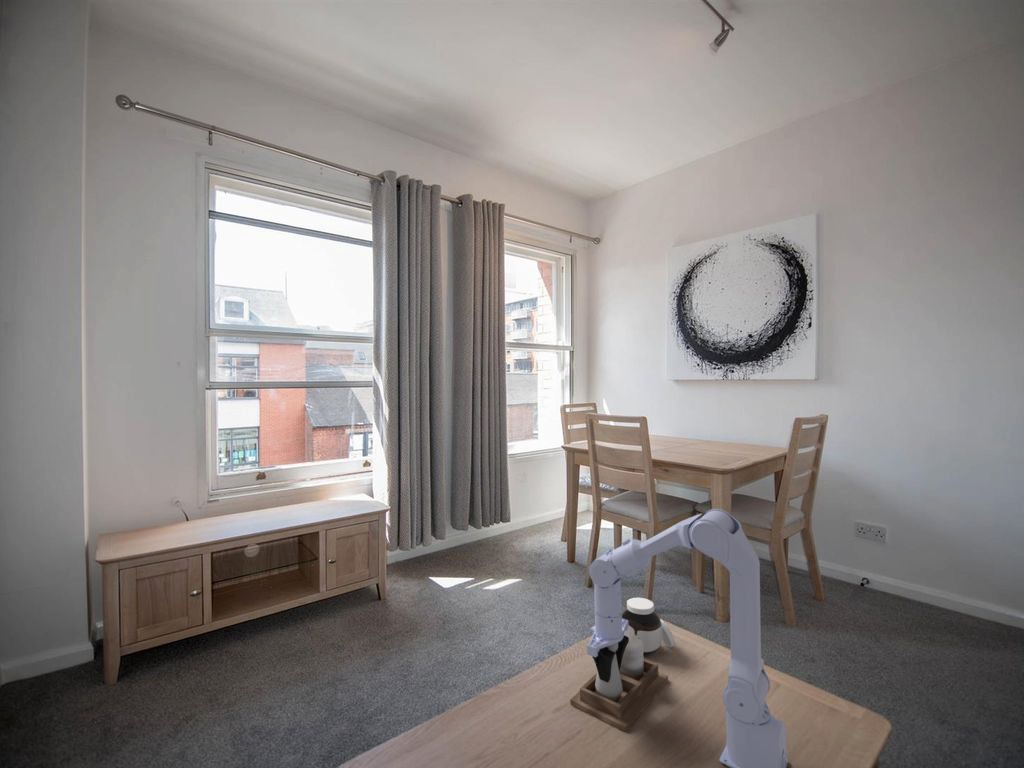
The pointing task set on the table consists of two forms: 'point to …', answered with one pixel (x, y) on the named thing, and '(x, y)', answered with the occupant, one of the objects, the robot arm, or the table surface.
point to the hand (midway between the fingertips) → (609, 675)
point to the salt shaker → (614, 685)
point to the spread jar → (646, 625)
